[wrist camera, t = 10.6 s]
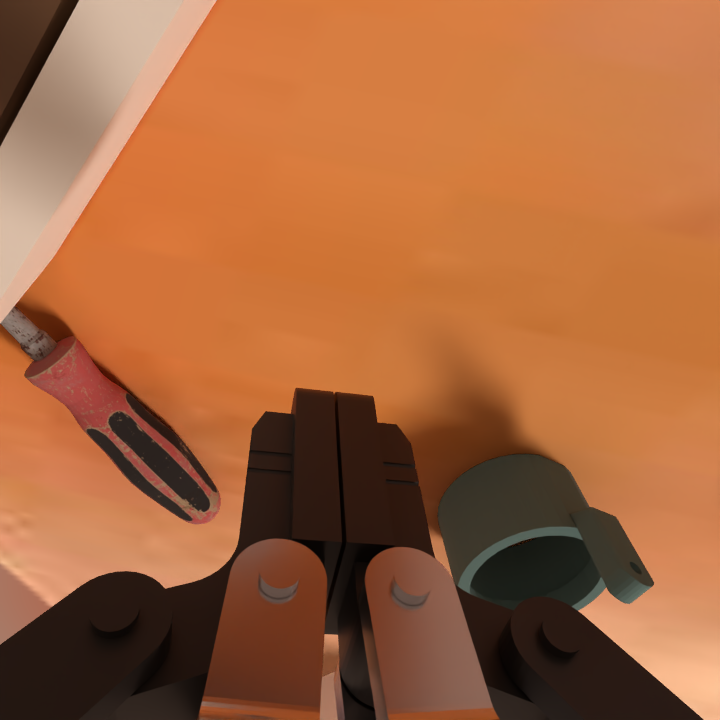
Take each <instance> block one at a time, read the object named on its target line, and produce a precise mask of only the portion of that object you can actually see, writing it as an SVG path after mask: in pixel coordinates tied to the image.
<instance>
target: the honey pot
mask: <svg viewBox="0 0 720 720" xmlns="http://www.w3.org/2000/svg"><path fill="white" fill-rule="evenodd" d="M334 675H335V672H332V673H330V674H328V675H326V676H323V677H322V684H321V702H320V720H338V718H337V709H336V699H335V690H334Z"/></svg>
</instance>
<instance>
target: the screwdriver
mask: <svg viewBox="0 0 720 720" xmlns="http://www.w3.org/2000/svg"><path fill="white" fill-rule="evenodd" d="M0 324H1V325H2V326H3V327H4V328H5V329H6V330H7V331H8V332H9V333H10V334H11V335H12V336H13V337H14V338H15V339H16V340H17V341H18V342H19V343H20V345H21V348H22V349H23V350H24V351H25V352H26V353H27V354H28V355H29V356H30V357H31V358H32V359H33V360H34V361H33V362H32V363H31V364H30V366H29V367H28V368H27V370H26V371H25V374H24V375H25V377H26V378H27V379H28V380H29V381H30V382H31V383H32V384H34V385H35V386H37V387H38V388H40V389H42V390H44V391H45V392H47V393H49V394H50V395H52V396H53V397H55V398H56V399H58V400H59V401H60V402H62V403H63V404H64V405H65V406H66V407H67V408H68V409H69V410H70V411H71V413H72V414H73V416H74V417H75V419H76V421H77V422H78V424H79V425H80V426H81V428H82V429H83V430H84V431H85V432H86V434H87V435H88V436H89V437H90V438H91V439H92V440H93V441H94V442H95V443H96V444H97V445H98V446H99V447H100V448H101V449H102V450H103V451H104V452H105V453H106V454H107V455H108V457H109V458H110V459H111V460H112V461H113V463H114V464H115V465H116V466H117V468H118V469H119V470H120V471H121V472H122V474H123V475H124V476H125V477H126V478H127V479H128V480H129V481H130V482H131V483H132V484H133V485H134V486H136V487H137V488H138V489H139V490H141V491H142V492H143V493H145V494H146V495H147V496H149V497H150V498H152V499H153V500H154V501H156V502H157V503H159V504H160V505H161V506H163V507H164V508H166V509H167V510H169V511H170V512H172V513H173V514H175V515H176V516H178V517H179V518H181V519H183V520H184V521H186V522H188V523H192V524H204V523H207V522H209V521H211V520H212V519H213V518H214V517H215V516H216V515H217V513H218V512H219V509H220V504H221V498H220V494H219V491H218V489H217V488H216V486H215V485H214V483H213V481H212V480H211V478H210V477H209V476H208V474H207V473H206V471H205V470H204V469H203V467H202V466H201V464H200V463H199V462H198V460H197V459H196V458H195V456H194V455H193V454H192V452H191V451H190V450H189V449H188V447H187V446H186V445H185V444H184V442H183V441H182V440H181V439H180V438H179V437H178V436H177V435H176V434H175V433H174V432H173V431H172V430H170V429H169V428H168V427H167V426H165V425H164V424H163V423H162V422H160V421H159V420H158V419H157V418H155V417H154V416H153V415H152V414H151V413H150V412H148V411H147V410H146V409H145V408H144V407H143V406H142V405H141V404H140V403H139V402H138V401H137V400H136V399H135V398H134V397H133V396H131V395H130V394H129V393H128V392H127V391H125V390H124V389H123V388H121V387H120V386H118V385H116V384H115V383H113V382H111V381H110V380H109V379H108V378H106V377H105V376H104V375H103V374H102V373H101V372H100V371H99V369H98V368H97V367H96V365H95V364H94V363H93V361H92V360H91V358H90V356H89V355H88V353H87V351H86V350H85V348H84V346H83V345H82V344H81V343H80V342H79V340H78V339H77V338H76V337H74V336H70V337H67V338H64V339H62V340H60V341H58V342H55V341H54V340H53V339H52V338H51V337H50V336H49V335H48V334H47V333H46V332H45V331H44V330H41V329H39V328H38V327H37V326H36V325H35V324H34V323H33V322H32V321H30V320H29V319H28V318H27V317H26V316H25V315H24V314H23V313H22V312H21V311H20V310H19V309H18V308H17V307H16V306H14V307H13V308H12V310H11V311H10V312H9V313H8V315H7V316H6V317H5V318H4V320H3V321H2V322H1V323H0Z"/></svg>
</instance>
